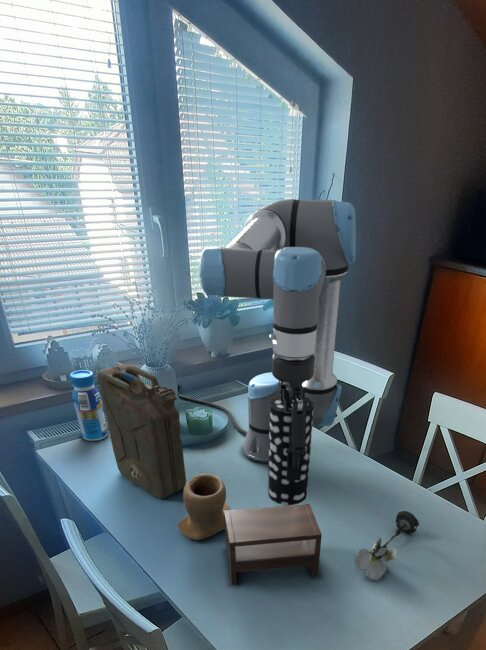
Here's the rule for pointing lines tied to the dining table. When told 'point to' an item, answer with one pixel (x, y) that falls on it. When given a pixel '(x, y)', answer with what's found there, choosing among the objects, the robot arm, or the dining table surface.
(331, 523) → the dining table surface
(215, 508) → the stone cup
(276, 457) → the spotted tube
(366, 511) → the dining table surface
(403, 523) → the artificial flower
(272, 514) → the rack
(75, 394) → the beverage bottle
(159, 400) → the container
